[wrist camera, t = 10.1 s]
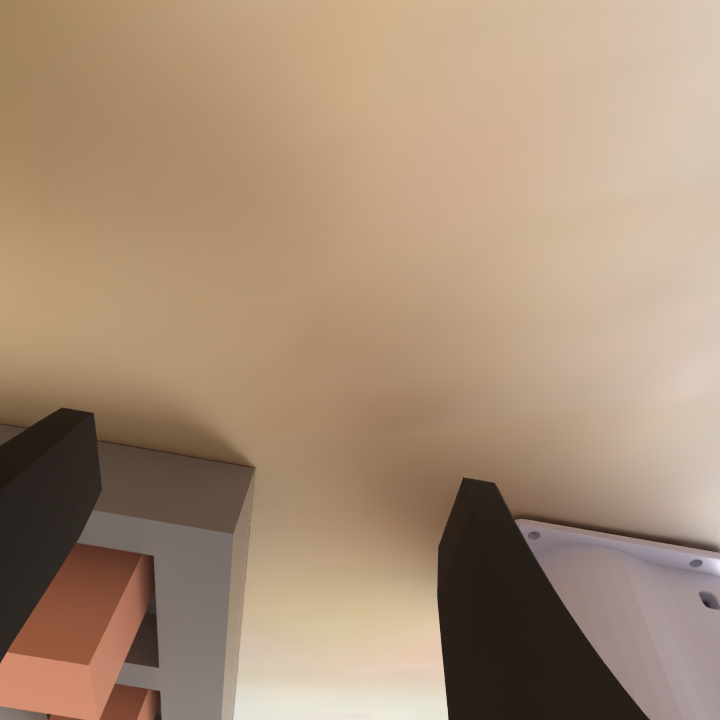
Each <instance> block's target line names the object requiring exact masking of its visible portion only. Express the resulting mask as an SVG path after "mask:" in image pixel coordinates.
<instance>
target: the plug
mask: <svg viewBox="0 0 720 720" xmlns="http://www.w3.org/2000/svg"><path fill="white" fill-rule="evenodd" d="M154 591H155V570H154V556H153V555H147V554H141V553H135V552H129V551H123V550H117V549H111V548H105V547H100V546H94V545H88V544H82V543H76V544H75V546H74V547H73V549H72V551H71V552H70V554H69V555H68V557H67V558H66V560H65V562H64V563H63V565H62V566H61V568H60V570H59V571H58V573H57V574H56V576H55V577H54V579H53V581H52V582H51V584H50V585H49V587H48V588H47V590H46V591H45V593H44V595H43V596H42V598H41V599H40V601H39V602H38V604H37V605H36V607H35V609H34V610H33V612H32V613H31V615H30V616H29V618H28V620H27V621H26V623H25V624H24V626H23V627H22V629H21V630H20V632H19V634H18V635H17V637H16V638H15V640H14V641H13V643H12V644H11V646H10V648H9V650H8V651H7V653H6V655H5V656H4V658H3V660H2V661H1V663H0V706H2V707H9V708H15V709H21V710H27V711H34V712H40V713H46V714H52V715H59V716H65V717H71V718H77V719H84V720H99V719H100V717H101V714H102V712H103V710H104V707H105V705H106V703H107V700H108V698H109V696H110V694H111V691H112V689H113V687H114V684H115V682H116V680H117V677H118V675H119V673H120V670H121V668H122V666H123V663H124V661H125V659H126V656H127V654H128V652H129V649H130V647H131V645H132V642H133V640H134V638H135V635H136V633H137V631H138V629H139V626H140V624H141V622H142V619H143V617H144V615H145V612H146V610H147V608H148V605H149V603H150V601H151V598H152V596H153V594H154Z"/></svg>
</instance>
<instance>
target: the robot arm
mask: <svg viewBox="0 0 720 720" xmlns="http://www.w3.org/2000/svg"><path fill="white" fill-rule="evenodd" d="M101 491H102V483H101V474H100V465H99V456H98V447H97V438H96V429H95V420H94V413H90V412H84V411H79V410H73V409H67V408H61V409H59V410H57V411H55V412H54V413H52V414H50V415H49V416H47V417H45V418H44V419H42V420H41V421H39V422H37V423H36V424H34V425H32V426H31V427H29V428H28V429H26V430H24V431H23V432H21V433H20V434H18V435H16V436H15V437H13V438H12V439H10V440H8V441H7V442H5V443H4V444H2V445H0V663H1V661H2V660H3V658H4V656H5V655H6V653H7V651H8V650H9V648H10V646H11V644H12V643H13V641H14V640H15V638H16V637H17V635H18V634H19V632H20V630H21V629H22V627H23V626H24V624H25V623H26V621H27V620H28V618H29V616H30V615H31V613H32V612H33V610H34V609H35V607H36V605H37V604H38V602H39V601H40V599H41V598H42V596H43V595H44V593H45V591H46V590H47V588H48V587H49V585H50V584H51V582H52V581H53V579H54V577H55V576H56V574H57V573H58V571H59V570H60V568H61V566H62V565H63V563H64V562H65V560H66V558H67V557H68V555H69V554H70V552H71V551H72V549H73V547H74V546H75V544H76V542H77V541H78V539H79V538H80V536H81V534H82V532H83V529H84V527H85V525H86V523H87V521H88V519H89V517H90V515H91V513H92V511H93V509H94V506H95V504H96V502H97V500H98V498H99V495H100V493H101ZM532 531H536V532H532ZM437 599H438V611H439V622H440V633H441V644H442V654H443V665H444V675H445V686H446V696H447V707H448V718H449V720H720V553H718V552H712V551H706V550H701V549H695V548H689V547H683V546H677V545H672V544H666V543H660V542H654V541H648V540H643V539H637V538H631V537H625V536H620V535H614V534H608V533H602V532H596V531H591V530H585V529H579V528H573V527H567V526H562V525H556V524H550V523H544V522H538V521H533V520H527V519H518V520H514V518H513V516H512V514H511V512H510V510H509V508H508V507H507V505H506V503H505V501H504V499H503V497H502V495H501V493H500V491H499V489H498V488H497V486H496V485H495V483H492V482H486V481H481V480H475V479H469V478H463V480H462V483H461V486H460V488H459V491H458V494H457V497H456V500H455V502H454V505H453V508H452V511H451V513H450V516H449V519H448V522H447V525H446V527H445V530H444V533H443V536H442V538H441V541H440V544H439V547H438V588H437Z"/></svg>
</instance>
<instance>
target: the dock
mask: <svg viewBox="0 0 720 720" xmlns="http://www.w3.org/2000/svg"><path fill="white" fill-rule="evenodd" d="M24 430H26V428H20V427H14V426H8V425H3V424H0V445H2V444H4V443H5V442H7V441H8V440H10V439H12V438H13V437H15V436H16V435H18V434H20V433H21V432H23V431H24ZM97 447H98V456H99V465H100V474H101V483H102V491H101V493H100V495H99V498H98V500H97V502H96V504H95V506H94V509H93V511H92V513H91V515H90V517H89V519H88V521H87V523H86V525H85V527H84V529H83V532H82V534H81V536H80V538H79V539H78V541H77V542H76V543H82V544H88V545H94V546H100V547H105V548H111V549H117V550H123V551H129V552H135V553H141V554H147V555H153V556H154V570H155V591H154V594H153V596H152V598H151V601H150V603H149V605H148V608H147V610H146V612H145V615H144V617H143V619H142V622H141V624H140V626H139V629H138V631H137V633H136V635H135V638H134V640H133V642H132V645H131V647H130V649H129V652H128V654H127V656H126V659H125V661H124V663H123V666H122V668H121V670H120V673H119V675H118V677H117V680H116V682H115V684H114V687H113V689H112V691H111V694H110V696H109V698H108V700H107V703H106V705H105V707H104V710H103V712H102V714H101V717H100V719H99V720H233V715H234V704H235V693H236V681H237V670H238V658H239V647H240V635H241V624H242V613H243V601H244V590H245V578H246V567H247V555H248V544H249V532H250V521H251V510H252V498H253V487H254V475H255V468H251V467H246V466H240V465H234V464H228V463H222V462H217V461H211V460H205V459H199V458H194V457H188V456H182V455H176V454H170V453H165V452H159V451H153V450H147V449H141V448H136V447H130V446H124V445H118V444H113V443H107V442H101V441H97ZM0 720H84V719H77V718H71V717H65V716H59V715H52V714H46V713H40V712H34V711H27V710H21V709H15V708H9V707H2V706H0Z"/></svg>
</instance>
